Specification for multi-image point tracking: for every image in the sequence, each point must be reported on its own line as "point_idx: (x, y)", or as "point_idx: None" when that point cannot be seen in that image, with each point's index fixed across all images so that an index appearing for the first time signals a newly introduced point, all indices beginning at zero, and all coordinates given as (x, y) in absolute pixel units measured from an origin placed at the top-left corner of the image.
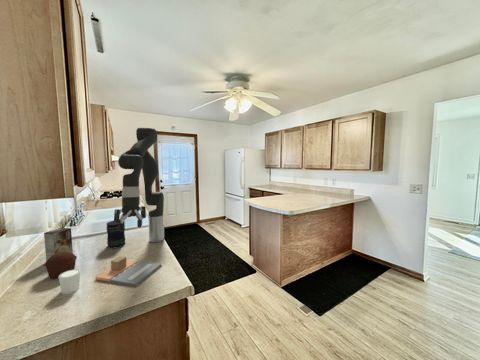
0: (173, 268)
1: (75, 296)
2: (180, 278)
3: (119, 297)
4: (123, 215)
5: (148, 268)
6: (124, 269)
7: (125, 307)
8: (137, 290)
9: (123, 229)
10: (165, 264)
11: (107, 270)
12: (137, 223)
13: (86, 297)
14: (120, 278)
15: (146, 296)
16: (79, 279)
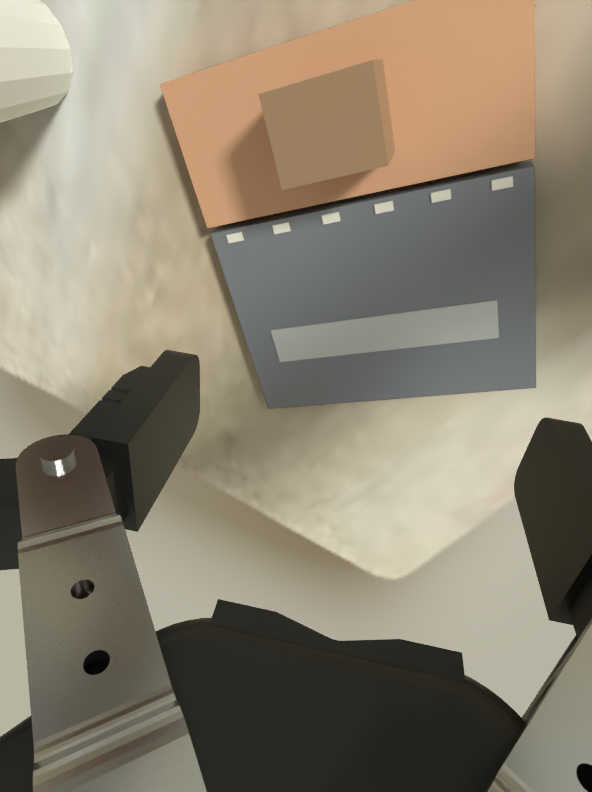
0: None
1: (42, 179)
2: (432, 539)
3: None
4: (89, 625)
5: (434, 353)
6: (342, 198)
7: None
8: (258, 427)
9: (187, 440)
10: (564, 389)
11: (260, 65)
12: (568, 463)
13: (82, 249)
14: (254, 284)
15: (253, 485)
16: (31, 100)
